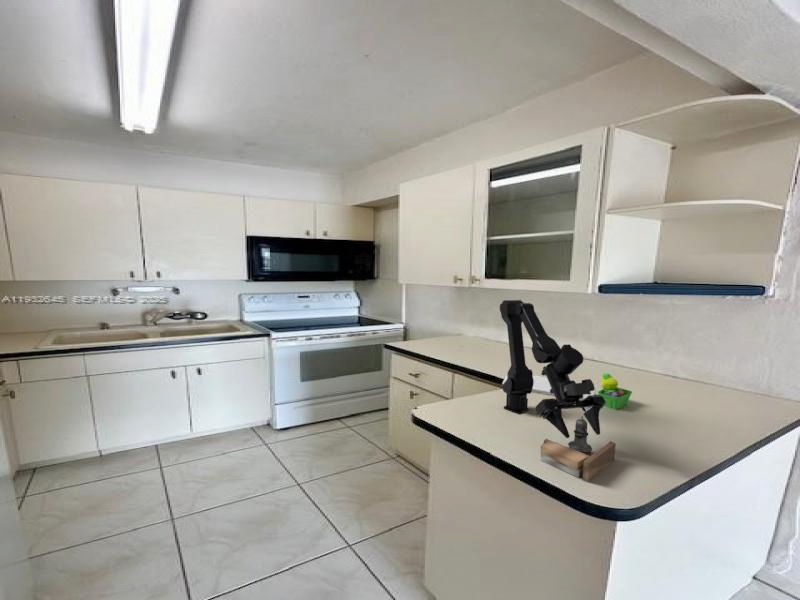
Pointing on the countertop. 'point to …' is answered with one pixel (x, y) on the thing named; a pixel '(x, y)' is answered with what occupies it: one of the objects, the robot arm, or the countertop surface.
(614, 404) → the fruit basket
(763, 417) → the countertop surface
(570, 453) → the teak offcut
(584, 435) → the grey rounded upright piece
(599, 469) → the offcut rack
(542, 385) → the decorative molding
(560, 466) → the grey mdf offcut
